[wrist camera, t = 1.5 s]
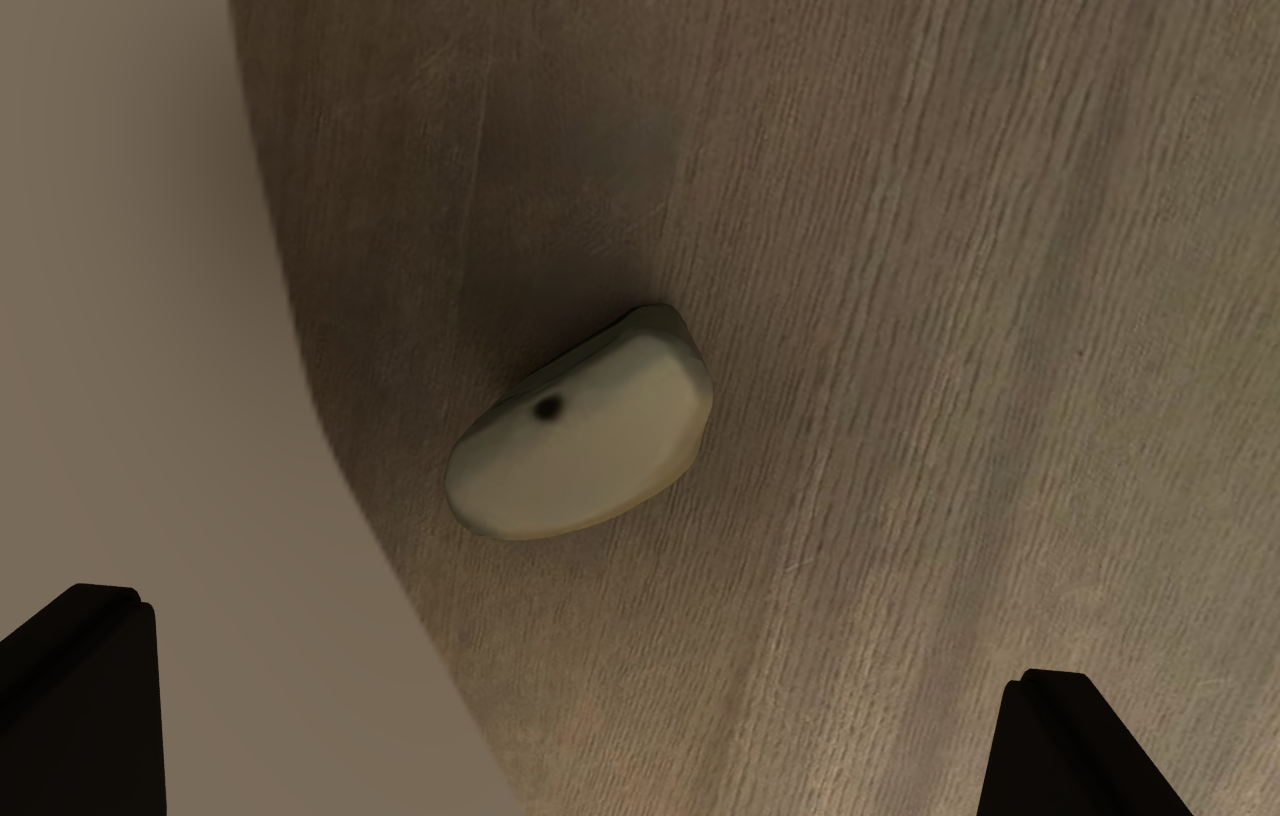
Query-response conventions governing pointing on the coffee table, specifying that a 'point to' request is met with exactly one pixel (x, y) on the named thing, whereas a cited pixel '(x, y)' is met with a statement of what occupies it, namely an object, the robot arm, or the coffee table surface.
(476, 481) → the cream rounded block
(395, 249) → the coffee table surface
